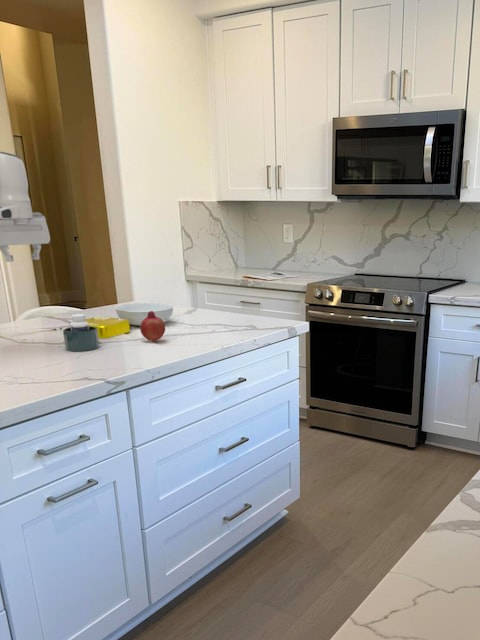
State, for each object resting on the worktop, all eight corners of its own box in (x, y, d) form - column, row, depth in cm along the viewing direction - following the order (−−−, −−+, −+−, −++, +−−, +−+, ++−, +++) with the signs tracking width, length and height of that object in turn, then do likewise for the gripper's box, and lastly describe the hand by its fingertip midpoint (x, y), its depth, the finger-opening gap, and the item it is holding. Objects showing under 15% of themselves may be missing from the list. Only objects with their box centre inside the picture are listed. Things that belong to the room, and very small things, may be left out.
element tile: (69, 335, 210) (67, 322, 208) (99, 327, 223) (97, 314, 221) (104, 339, 205) (102, 325, 203) (132, 331, 218) (131, 318, 216)
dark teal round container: (74, 352, 186) (71, 333, 184) (60, 347, 193) (57, 328, 191) (104, 347, 193) (102, 329, 191) (90, 343, 200) (88, 325, 198)
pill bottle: (93, 346, 192) (89, 315, 189) (75, 348, 189) (71, 317, 186) (88, 343, 196) (84, 313, 193) (71, 345, 194) (67, 314, 190)
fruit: (165, 343, 201) (162, 313, 197) (140, 344, 200) (137, 313, 196) (167, 338, 208) (164, 308, 205) (142, 338, 207) (139, 309, 203)
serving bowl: (154, 332, 220) (152, 313, 217) (105, 327, 226) (103, 309, 224) (184, 321, 238) (183, 304, 236) (139, 317, 245) (137, 300, 242)
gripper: (36, 212, 190) (43, 258, 194) (-23, 211, 172) (-14, 262, 177) (51, 212, 187) (57, 259, 192) (-7, 212, 170) (1, 263, 174)
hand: (22, 260), depth 184 cm, fingers open, 8 cm apart
